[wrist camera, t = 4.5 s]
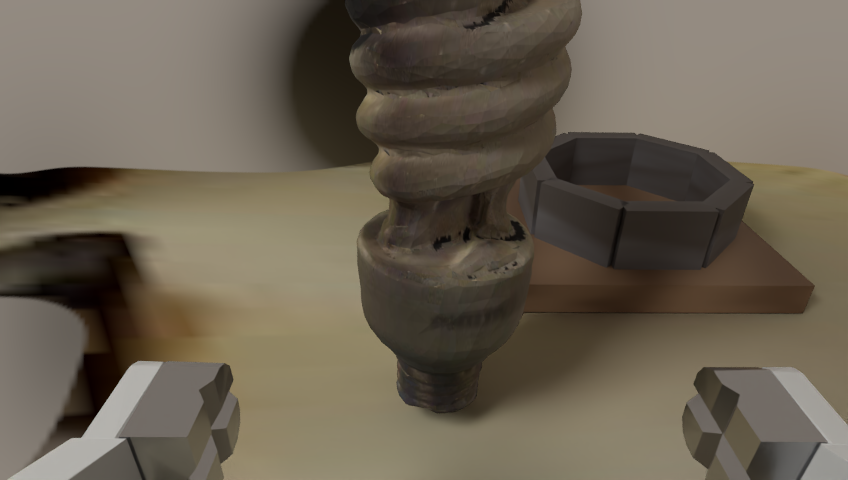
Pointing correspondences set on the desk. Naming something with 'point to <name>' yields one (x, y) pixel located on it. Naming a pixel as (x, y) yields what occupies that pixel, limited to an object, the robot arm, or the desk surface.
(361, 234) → the light bulb
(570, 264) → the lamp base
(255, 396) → the desk surface
